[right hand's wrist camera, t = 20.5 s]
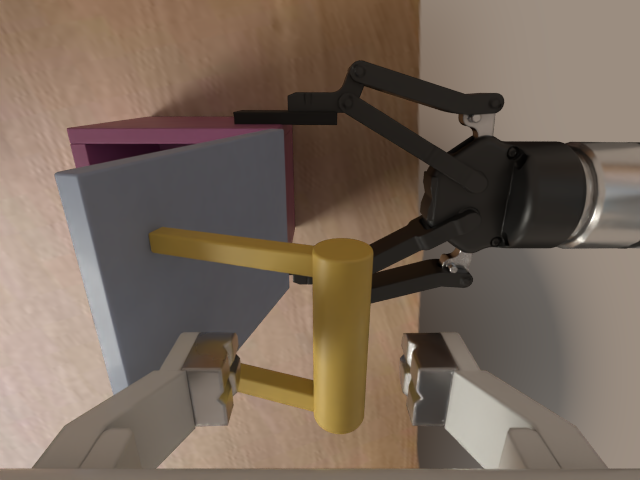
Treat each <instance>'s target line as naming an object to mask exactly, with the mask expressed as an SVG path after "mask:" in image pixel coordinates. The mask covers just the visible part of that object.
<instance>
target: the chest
mask: <svg viewBox="0 0 640 480" xmlns="http://www.w3.org/2000/svg"><path fill="white" fill-rule="evenodd" d="M267 129H283V130H284V152H285V180H286V208H287V237H288V243H292V241H293V235H294V230H295V207H294V170H293V133H292V125H282V124H234V117H143V118H136V119H129V120H122V121H114V122H107V123H100V124H93V125H86V126H79V127H71V128H67V132H68V136H69V140H70V143H71V144H70V145H71V149H72V153H73V157H74V162H75V166H76V168H80V167H84V166H89V165H94V164H99V163H104V162H109V161H114V160H119V159H124V158H129V157H134V156H139V155H144V154H149V153H154V152H159V151H164V150H169V149H173V148H178V147H183V146H188V145H193V144H198V143H203V142H208V141H213V140H218V139H223V138H228V137H233V136H238V135H243V134H248V133H253V132H257V131H262V130H267Z"/></svg>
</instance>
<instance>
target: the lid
mask: <svg viewBox="0 0 640 480" xmlns="http://www.w3.org/2000/svg"><path fill="white" fill-rule="evenodd" d="M55 179H56V183H57V186H58V190H59V194H60V197H61V201H62V205H63V209H64V212H65V216H66V220H67V224H68V227H69V231H70V235H71V238H72V242H73V246H74V250H75V253H76V257H77V261H78V264H79V268H80V272H81V276H82V279H83V283H84V287H85V290H86V294H87V298H88V302H89V305H90V309H91V313H92V316H93V320H94V324H95V328H96V331H97V335H98V339H99V342H100V346H101V350H102V354H103V357H104V361H105V365H106V369H107V372H108V376H109V380H110V383H111V387H112V391H113V395H115V394H117V393H118V392H120V391H121V390H123V389H125V388H126V387H128V386H129V385H131V384H133V383H134V382H136V381H138V380H139V379H141V378H142V377H144V376H146V375H147V374H149V373H150V372H152V371H155V370H160V368H161V366H162V365H163V363H164V361H165V359H166V358H167V356H168V354H169V353H170V351H171V349H172V347H173V346H174V344H175V342H176V341H177V339H178V337H179V336H180V334H181V333H183V332H220V333H236V334H237V337H238V344H239V346H238V349H237V351H238V350H239V348H240V347H241V346H242V345H243V343H244V342H245V341H246V340H247V339H248V337H249V336H250V335H251V334H252V333H253V331H254V330H255V329H256V328H257V326H258V325H259V324H260V323H261V322H262V320H263V319H264V318H265V317H266V315H267V314H268V313H269V312H270V311H271V309H272V308H273V307H274V306H275V305H276V303H277V302H278V301H279V300H280V298H281V297H282V296H283V295H284V294H285V292H286V291H287V290H288V289H289V274H296V275H302V276H309V277H313V377H314V380H310V379H306V378H301V377H297V376H293V375H289V374H284V373H280V372H276V371H272V370H268V369H263V368H259V367H255V366H251V365H246V364H242V363H240V365H241V374H240V382H239V387H238V391H237V392H241V393H244V394H248V395H252V396H256V397H260V398H264V399H267V400H271V401H275V402H279V403H283V404H286V405H290V406H294V407H298V408H302V409H305V410H309V411H313V412H314V417H315V420H316V422H317V423H318V424H319V426H320V427H321V428H323V429H324V430H326V431H328V432H330V433H334V434H346V433H350V432H352V431H354V430H355V429H357V428H358V427H359V426H360V424H361V423H362V421H363V418H364V406H365V389H366V372H367V355H368V337H369V320H370V303H371V286H372V269H373V249H372V248H371V246H370V245H368V244H367V243H364V242H362V241H359V240H354V239H347V238H336V239H329V240H324V241H322V242H319V243H317V244H316V245H315V246H311V245H303V244H295V243H288V237H287V208H286V180H285V152H284V130H283V129H267V130H262V131H257V132H253V133H248V134H243V135H238V136H233V137H228V138H223V139H218V140H213V141H208V142H203V143H198V144H193V145H188V146H183V147H178V148H173V149H169V150H164V151H159V152H154V153H149V154H144V155H139V156H134V157H129V158H124V159H119V160H114V161H109V162H104V163H99V164H94V165H89V166H84V167H80V168H75V169H70V170H65V171H60V172H57V173H55Z"/></svg>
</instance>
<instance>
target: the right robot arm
mask: <svg viewBox="0 0 640 480" xmlns="http://www.w3.org/2000/svg"><path fill="white" fill-rule="evenodd" d="M238 346H239V344H238V337H237V334H236V333H220V332H183V333H181V334H180V336H179V337H178V339H177V341H176V342H175V344H174V346H173V347H172V349H171V351H170V353H169V354H168V356H167V358H166V359H165V361H164V363H163V365H162V366H161V368H160V370H155V371H152V372H150V373H149V374H147V375H146V376H144V377H142V378H141V379H139V380H138V381H136V382H134V383H133V384H131V385H129V386H128V387H126V388H125V389H123V390H121V391H120V392H118V393H117V394H115V395H113V396H112V397H110V398H109V399H107V400H105V401H104V402H102V403H100V404H99V405H97V406H96V407H94V408H92V409H91V410H89V411H88V412H86V413H84V414H83V415H81V416H80V417H78V418H76V419H75V420H73V421H71V422H70V423H68V424H67V425H65V426H64V427H63V428H62V430H61V431H60V432H59V434H58V435H57V436H56V437H55V439H54V440H53V441H52V443H51V444H50V445H49V447H48V448H47V449H46V450H45V452H44V453H43V454H42V456H41V457H40V458H39V459H38V461H37V462H36V463H35V465H34V466H33V467H32V469H0V480H640V469H608V467H607V466H606V465H605V463H604V462H603V461H602V459H601V458H600V457H599V456H598V454H597V453H596V452H595V450H594V449H593V448H592V446H591V445H590V444H589V442H588V441H587V440H586V439H585V437H584V436H583V435H582V433H581V432H580V431H579V429H578V428H577V427H576V426H575V425H573V424H571V423H570V422H568V421H567V420H565V419H563V418H562V417H560V416H559V415H557V414H555V413H554V412H552V411H551V410H549V409H547V408H546V407H544V406H543V405H541V404H539V403H538V402H536V401H535V400H533V399H531V398H530V397H528V396H526V395H525V394H523V393H522V392H520V391H518V390H517V389H515V388H514V387H512V386H510V385H509V384H507V383H506V382H504V381H502V380H501V379H499V378H498V377H496V376H494V375H493V374H491V373H490V372H488V371H485V370H480V368H479V366H478V365H477V363H476V361H475V360H474V358H473V356H472V355H471V353H470V351H469V349H468V348H467V346H466V344H465V343H464V341H463V339H462V338H461V336H460V334H459V333H457V332H439V333H403V337H402V344H401V346H402V349H403V352H404V355H403V356H402V357H401V358H400V367H399V370H400V382H401V387H402V391H403V393H404V394H405V395H407V409H408V412H409V416H410V419H411V423H412V425H414V426H445V429H446V430H447V431H448V432H449V433H450V434H451V435H452V436H453V437H454V438H455V439H456V440H457V441H458V442H459V443H460V444H461V445H462V446H463V447H464V448H465V449H466V450H467V451H468V452H469V453H470V454H471V456H472V457H473V458H474V459H475V460H476V461H477V462H478V463H479V464H480V465H481V466H482V467H483V468H484V469H156V468H157V467H158V466H159V465H160V464H161V463H162V462H163V461H164V460H165V459H166V458H167V457H168V456H169V455H170V454H171V453H172V452H173V451H174V450H175V449H176V447H177V446H178V445H179V444H180V443H181V442H182V441H183V440H184V439H185V438H186V437H187V436H188V435H189V434H190V433H191V432H192V431H193V430H194V429H195V426H225V425H228V423H229V419H230V416H231V412H232V409H233V395H235V394H236V393H237V391H238V387H239V382H240V374H241V365H240V358H239V357H238V356H237V355H236V352H237V349H238Z"/></svg>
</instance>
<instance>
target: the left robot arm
mask: <svg viewBox="0 0 640 480" xmlns="http://www.w3.org/2000/svg"><path fill="white" fill-rule="evenodd" d="M364 86H366V87H369V88H372V89H375V90H378V91H381V92H384V93H388V94H391V95H394V96H397V97H400V98H403V99H406V100H410V101H413V102H416V103H419V104H422V105H425V106H428V107H432V108H435V109H438V110H441V111H445V112H450V113H456V114H459V122H460V123H461V124H462V125H464V126H468V127H470V128H471V129H472V131H473V136H471V137H469V138H468V139H466V140H465V141H463V142H462V143H460V144H459V145H457V146H456V147H454V148H453V149H452V150H450V151H448V152H447V153H446V152H445V151H443V150H442V149H440V148H438V147H437V146H435V145H433V144H432V143H430V142H428V141H427V140H425V139H424V138H422V137H420V136H419V135H417V134H416V133H414V132H413V131H411V130H409V129H408V128H406V127H405V126H403V125H401V124H400V123H398V122H397V121H395V120H393V119H392V118H390V117H389V116H387V115H386V114H384V113H382V112H381V111H379V110H378V109H376V108H374V107H373V106H371V105H370V104H368V103H366V102H365V101H363V100H362V99H360V95H361V92H362V90H363V87H364ZM503 105H504V98H503V96H502V95H500V94H498V93H474V94H463V93H460V92H457V91H454V90H451V89H448V88H445V87H442V86H439V85H436V84H433V83H430V82H426V81H423V80H420V79H417V78H414V77H411V76H408V75H405V74H402V73H399V72H396V71H393V70H390V69H386V68H383V67H380V66H377V65H374V64H371V63H368V62H365V61H356V62H354V63H353V64H352V65H351V66H350V67H349V69H348V72H347V75H346V78H345V80H344V83H343V85H342V87H341V88H340V89H339V90H338V91H336V92H295V93H293V94H291V95H288V110H241V111H237V112H233V113H234V124H282V125H337V113H346V114H347V115H349V116H351V117H352V118H354V119H355V120H357V121H359V122H360V123H362V124H364V125H365V126H367V127H368V128H370V129H372V130H373V131H375V132H377V133H378V134H380V135H381V136H383V137H385V138H386V139H388V140H390V141H391V142H393V143H394V144H396V145H398V146H399V147H401V148H403V149H404V150H406V151H407V152H409V153H411V154H412V155H414V156H416V157H417V158H419V159H420V160H422V161H424V162H425V163H427V164H428V165H430V166H429V168H428V170H427V171H425V172H424V179H423V183H424V189H425V193H424V196H423V199H422V201H421V208H420V213H421V214H422V215H421V216H419V217H417V218H415V219H413V220H412V221H410V222H409V224H408V225H407V226H405V227H403V228H401V229H399V230H397V231H395V232H393V233H391V234H389V235H388V236H386V237H384V238H382V239H380V240H378V241H376V242H374V243H372V244H370V246H371V248H372V249H373V269H372V286H371V303H375V302H379V301H383V300H387V299H391V298H395V297H399V296H404V295H408V294H412V293H416V292H420V291H424V290H428V289H432V288H437V287H441V286H444V287H460V288H465V287H468V286H470V285H471V284H472V282H473V278H472V276H471V275H470V273H469V267H470V263H471V259H472V255H473V253H475V252H477V251H479V250H482V249H484V248H488V247H499V248H553V247H559V248H563V249H565V248H567V249H568V248H624V249H625V248H640V142H569V143H565V144H564V143H562V142H505V141H500V140H499V139H497V138H496V137H494V136H493V131H494V122H495V113H497V112H499V111H500V110H501V109H502V107H503ZM446 241H448V242H449V243H450V244H452V245H453V246H455V247H456V248H455V250H454V251H453V252H452V253H449V254H442V255H441V257H440V259H429V260H424V261H420V262H416V263H412V264H408V265H404V266H400V267H397V268H393V269H389V270H385V271H381V272H378V271H380V270H382V269H384V268H386V267H388V266H390V265H392V264H394V263H396V262H398V261H400V260H402V259H404V258H406V257H408V256H410V255H412V254H414V253H416V252H418V251H421V250H430V249H432V248H434V247H436V246H438V245H440V244H442V243H444V242H446ZM376 272H377V273H376ZM289 275H293V282H295V283H297V284H313V277H309V276H302V275H296V274H289ZM371 303H370V304H371Z"/></svg>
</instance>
